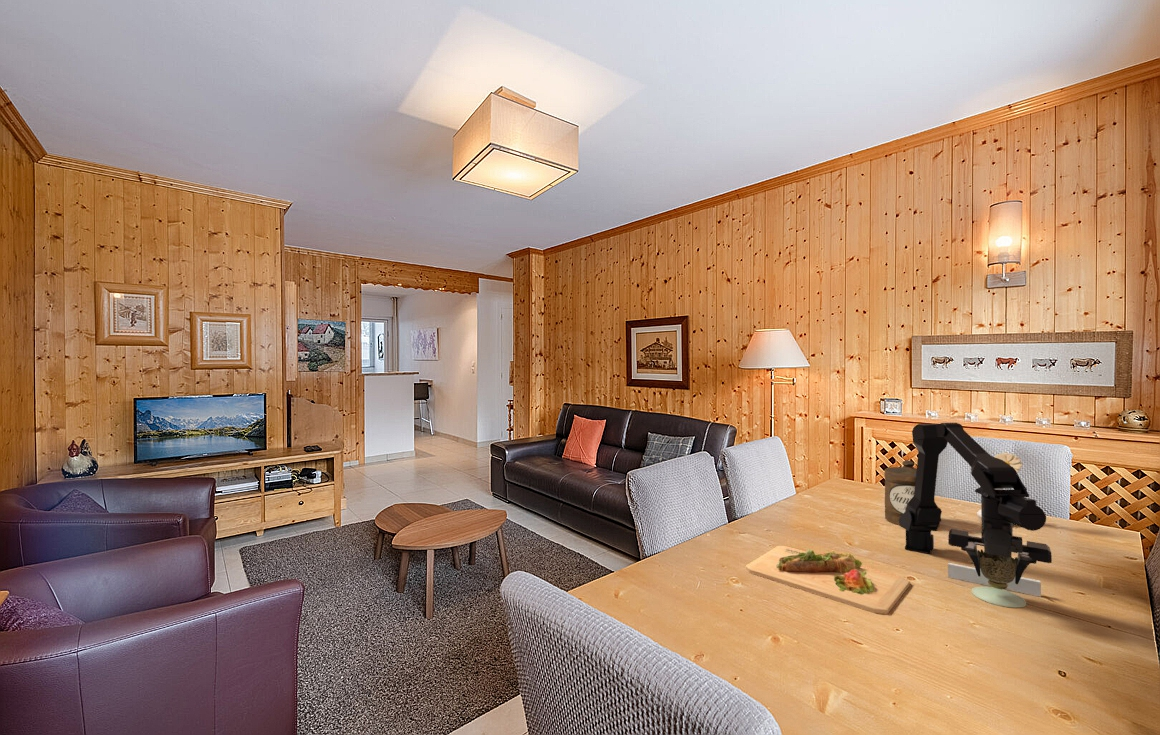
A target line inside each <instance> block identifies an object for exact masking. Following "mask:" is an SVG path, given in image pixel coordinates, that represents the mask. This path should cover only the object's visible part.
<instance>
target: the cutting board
mask: <svg viewBox="0 0 1160 735" xmlns="http://www.w3.org/2000/svg"><path fill="white" fill-rule="evenodd" d="M745 570H746V571H747V572H748V573H749V574H752V575H753V576H754V575H755V576H757V577H760V578H764V579H767V580H770V581H773V582H776V583H778V584H779V583H780V584H783V585H786V586H789V587H792V588H795V589H798V590H801V591H804V592H808V593H811V594H815V595H817V596H820V597H822V598H826V599H830V600H833V601H836V602H839V603H841V604H845V605H849V606H851V607H854V608H858V609H861V610H864V611H867V612H870V613H873V614H881V615H888V614H889V612H890V611H891V610H892V609H893V607H894V606H895V605H896V604H897V602H898V601H899V600H900V599H901V597H902V596H903V595H904V593H905V592H906V591H907V589H909V587H910V585H911V580H909V579H907V578H905V577H903V576H901V575H897V574H893V573H890V572H886V571H882V570H878V569H874V568H870V567H868V566H867V567H866V566H863V562H862V561H860V560H859V559H858V558H857V559H856V557H854V554H850V553H847V552H843V553H838V552H833V551H830V552H825V553H820V554H817V553H815V552H814V550H813V549H811V548H809V549H807V550H806V551H805V550H803V549H802V550H801V549H797V548H793V547H790V546H786V545H777V546H775V547H774V548H772V549H771V550H768V551H767V552H765V553H764V554H762V555H761V556H759V557H757V558H756V559H754V560H752V561H751V562H749V563H748V564H746V565H745Z"/></svg>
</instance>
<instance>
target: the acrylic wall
mask: <svg viewBox="0 0 1160 735" xmlns="http://www.w3.org/2000/svg"><path fill="white" fill-rule="evenodd" d="M947 577H948V578H951V579H955V580H959V581H964V582H969V583H973V584H979V585H984V586H986V587H991V586H990V585H989V583H988V580H989V579H987V578H986V577H985V576H984V575H983V574H982V572H981V569H980V576H978V574H977V571H976V569H975V567H974V566H973V567H972V566H967V565H964V564H963V565H962V564H958V563H957V564H956V563H951V562H948V563H947ZM1007 585H1008V587H1007V588H1006V589H1005V591H1010V592H1011V591H1012V592H1015V593H1016V592H1017V593H1019V594H1020V593H1022V594H1026V595H1031V596H1035V597H1040V598H1041V597H1042V583H1041V580H1039V579H1034V578H1028V577H1023V576H1021V578H1020V580H1019V582H1018V584H1015V578H1014V580H1013V581H1012V582H1010V583H1007Z"/></svg>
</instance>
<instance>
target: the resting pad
mask: <svg viewBox="0 0 1160 735" xmlns="http://www.w3.org/2000/svg"><path fill="white" fill-rule="evenodd" d="M971 593H972V595H973V596H974V597H975V598H977V599H979V600H981V601H983V602H985V603H989V604H991V605H995V606H999V607H1003V608H1011V609H1012V608H1013V609H1019V608H1020V609H1022V608H1024V607H1026V606H1027V601H1026V600H1025V599H1024V598H1023V597H1021V596H1020V595H1018V594H1016V593H1014V592H1011V591H1010V590H1006V589H996V588H993V587H991V586H976V587H972V588H971Z"/></svg>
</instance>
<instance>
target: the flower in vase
mask: <svg viewBox="0 0 1160 735" xmlns="http://www.w3.org/2000/svg"><path fill="white" fill-rule="evenodd" d="M994 457H995V458H998V459H1001V460H1003V461H1005V462H1006V463H1007V464H1009V465H1010V466H1012V467H1013V468H1014V469H1015V470H1016V472H1017V474H1018V473H1019V472H1020V470H1021V469H1022V467H1023V463H1022V460H1021V459H1020V457H1018V456H1017V455H1014V454H1013V453H1008V452H1004V453H1003V452H1000V453H999V454H995V455H994ZM996 490H1003V489H996ZM976 515H977V517H978V518H980V519H982V515H981V509H979V510H978V511H977V512H976Z"/></svg>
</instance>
